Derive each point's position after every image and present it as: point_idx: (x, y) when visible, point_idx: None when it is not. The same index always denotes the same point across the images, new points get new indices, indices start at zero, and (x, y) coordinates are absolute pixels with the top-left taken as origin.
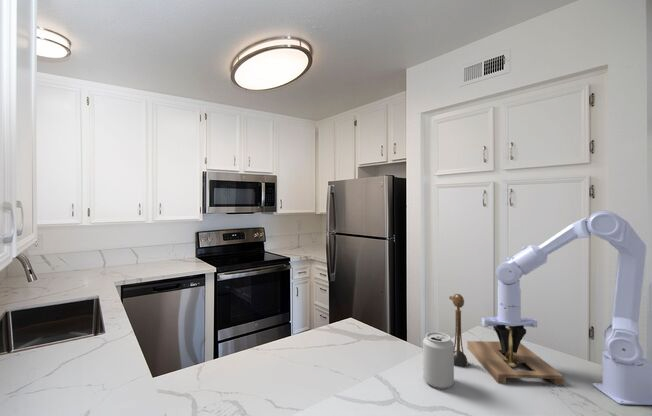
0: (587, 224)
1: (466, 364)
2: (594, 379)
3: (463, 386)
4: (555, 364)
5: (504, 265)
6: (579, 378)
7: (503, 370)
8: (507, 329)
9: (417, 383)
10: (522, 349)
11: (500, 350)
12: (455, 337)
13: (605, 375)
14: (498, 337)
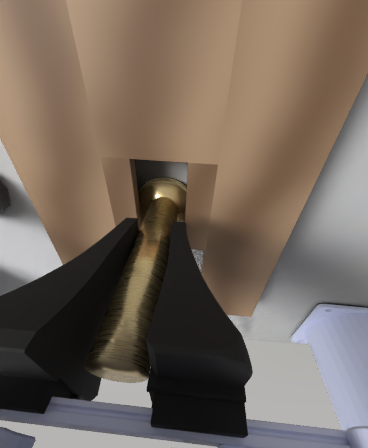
0: None
1: (3, 210)
2: (363, 285)
3: (14, 282)
4: (356, 211)
5: None
6: (325, 280)
7: None
8: (96, 374)
9: None
10: (283, 157)
11: (146, 158)
12: None
13: (327, 366)
14: (80, 257)
